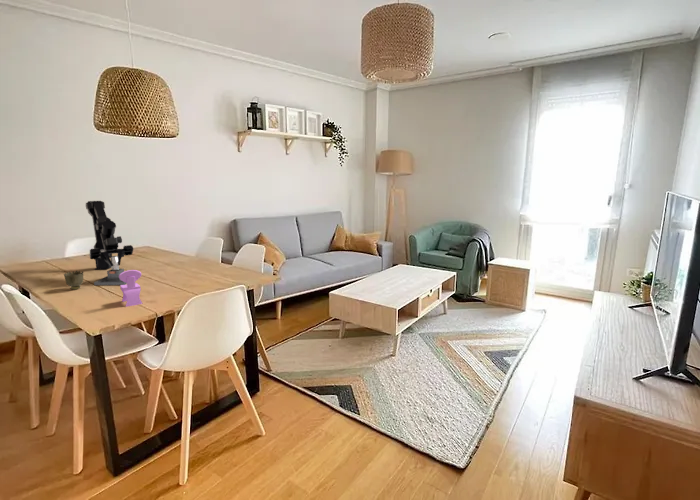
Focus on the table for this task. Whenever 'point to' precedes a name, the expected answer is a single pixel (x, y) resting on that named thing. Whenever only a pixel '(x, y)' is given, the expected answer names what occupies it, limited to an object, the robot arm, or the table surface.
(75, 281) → the cup
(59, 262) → the table surface
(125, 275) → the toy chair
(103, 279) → the stand
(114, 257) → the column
